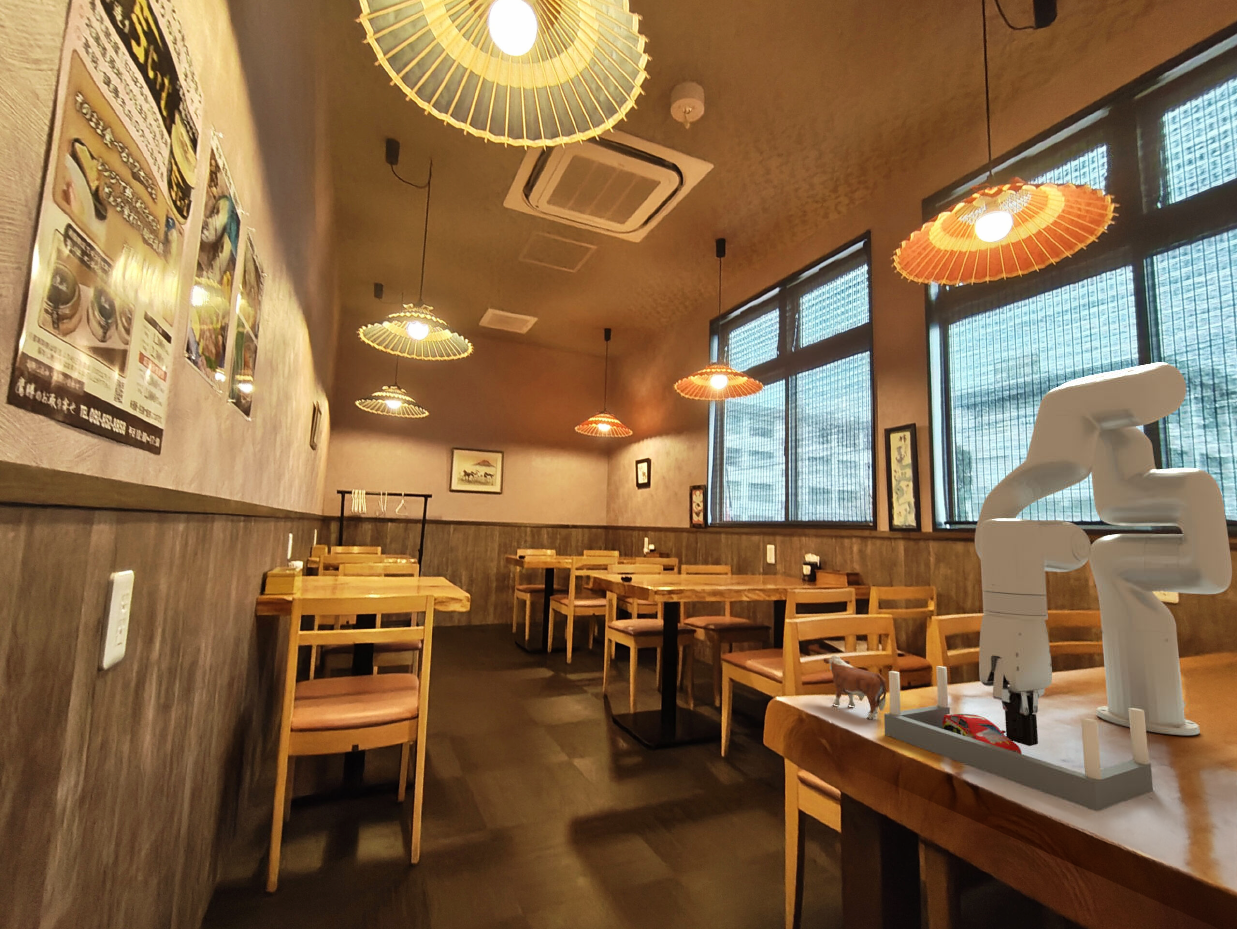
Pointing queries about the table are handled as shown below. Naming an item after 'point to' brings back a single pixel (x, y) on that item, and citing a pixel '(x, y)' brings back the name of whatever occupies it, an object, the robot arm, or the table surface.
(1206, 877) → the table surface
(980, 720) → the race car
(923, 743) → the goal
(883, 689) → the bull figurine
